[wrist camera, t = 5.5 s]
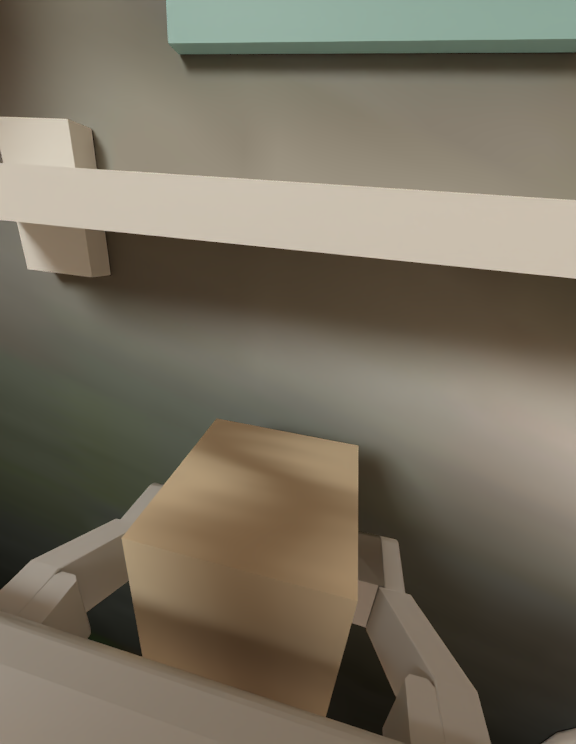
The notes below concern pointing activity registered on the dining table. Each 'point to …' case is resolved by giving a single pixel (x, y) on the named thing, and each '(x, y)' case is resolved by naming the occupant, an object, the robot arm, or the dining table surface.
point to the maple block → (251, 563)
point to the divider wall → (259, 212)
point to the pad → (371, 26)
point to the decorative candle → (562, 737)
